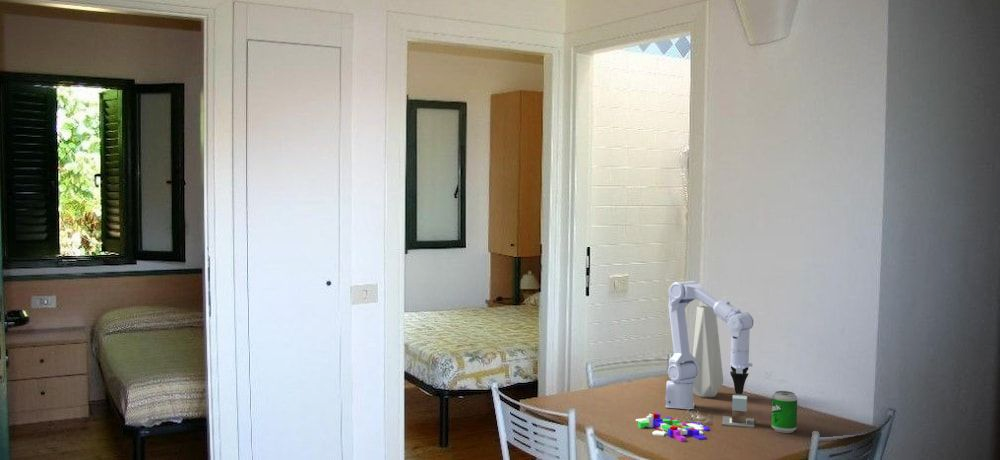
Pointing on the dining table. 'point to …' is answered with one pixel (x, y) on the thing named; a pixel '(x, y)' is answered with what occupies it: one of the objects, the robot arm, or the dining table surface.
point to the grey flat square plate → (728, 422)
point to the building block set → (673, 427)
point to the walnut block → (739, 417)
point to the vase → (707, 353)
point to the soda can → (784, 411)
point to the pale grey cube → (739, 403)
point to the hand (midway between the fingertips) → (739, 391)
